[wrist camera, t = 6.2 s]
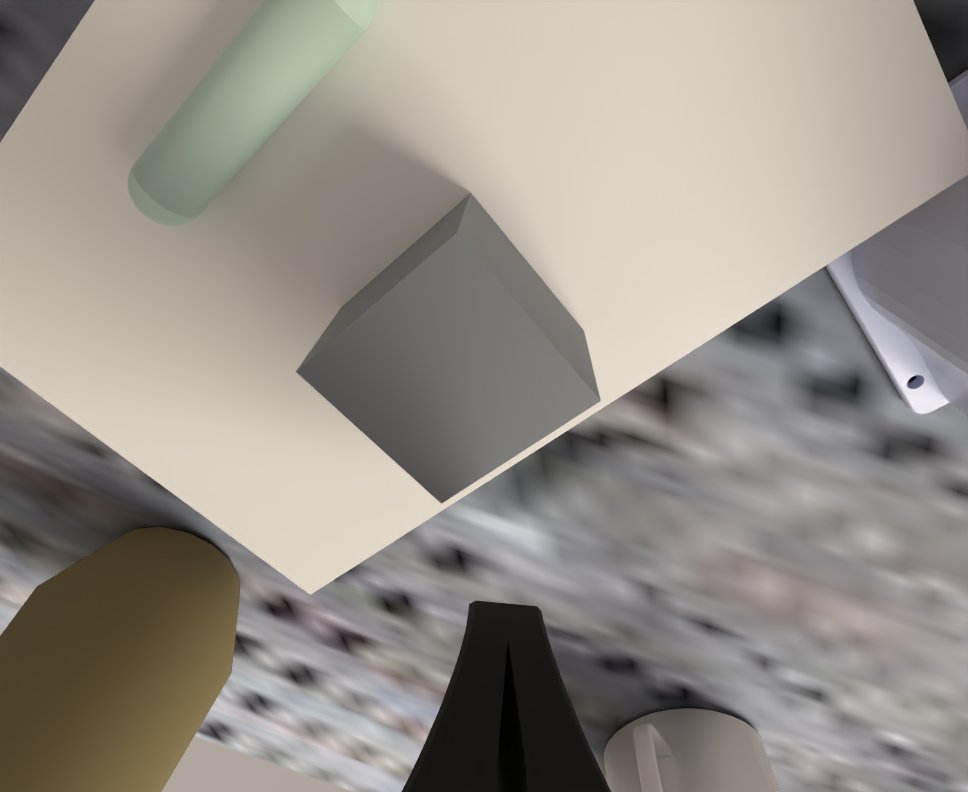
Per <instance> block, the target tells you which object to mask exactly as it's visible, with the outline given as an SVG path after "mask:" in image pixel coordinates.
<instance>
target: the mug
mask: <svg viewBox="0 0 968 792" xmlns="http://www.w3.org/2000/svg"><path fill="white" fill-rule="evenodd" d="M604 764H605V772H606V779H607V784H608V786H609V788H610V790H611V792H780V790H779V787H778V784H777V781H776V779H775V776H774V773H773V770H772V768H771V765H770V762H769V759H768V757H767V754H766V751H765V748H764V746H763V743H762V740H761V737H760V736H759V735H758V733H757V732H756V731H755V729H753V728H752V727H751V726H749V725H748V724H747V723H745V722H744V721H742V720H740V719H737V718H735V717H733V716H730V715H727V714H723V713H720V712H716V711H712V710H706V709H699V708H679V709H669V710H664V711H659V712H654V713H651V714H648V715H645V716H642V717H640V718H638V719H636V720H634V721H632V722H630V723H629V724H627V725H626V726H624V727H623V728H622V729H620V730H619V731H618V732H616V733H615V734H614V736H613V737H612V738H611V739H610V740H609V742H608V744H607V746H606V748H605V752H604Z"/></svg>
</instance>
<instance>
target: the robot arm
mask: <svg viewBox="0 0 968 792" xmlns="http://www.w3.org/2000/svg"><path fill="white" fill-rule="evenodd" d="M948 85H949V87H950V90H951V92H952V94H953V97H954V99H955V101H956V104H957V106H958V109H959V111H960V113H961V116H962V118H963V121H964V123H965V125H966V128H967V130H968V69H967V70H966V71H965V72H963V73H962V74H960V75H959V76H957V77H956V78H955V79H953V80H952V81H950V82H949V83H948ZM825 267H826V269H827V270H828V272H829V274H830V275H831V277H832V279H833V281H834V282H835V284H836V286H837V287H838V289H839V291H840V293H841V294H842V296H843V298H844V300H845V301H846V303H847V305H848V306H849V308H850V310H851V312H852V313H853V315H854V317H855V318H856V320H857V322H858V324H859V325H860V327H861V329H862V331H863V332H864V334H865V336H866V337H867V339H868V341H869V343H870V344H871V346H872V348H873V349H874V351H875V353H876V355H877V356H878V358H879V360H880V361H881V363H882V365H883V367H884V368H885V370H886V372H887V374H888V375H889V377H890V379H891V380H892V382H893V384H894V386H895V387H896V389H897V391H898V392H899V394H900V396H901V398H902V399H903V401H904V403H905V405H906V406H907V407H908V408H909V409H911V410H912V411H913V412H914V413H917V414H926V413H929V412H932V411H934V410H936V409H938V408H939V407H941V406H943V405H945V404H947V403H949V402H950V403H951V404H953V405H954V406H955V407H957V408H958V409H959V410H960V411H962V412H963V413H964V414H965V415H967V416H968V175H967V176H965V177H963V178H962V179H960V180H959V181H957V182H956V183H954V184H952V185H951V186H949V187H948V188H946V189H945V190H943V191H942V192H940V193H938V194H937V195H935V196H934V197H932V198H931V199H929V200H927V201H926V202H924V203H923V204H921V205H920V206H918V207H916V208H915V209H913V210H912V211H910V212H909V213H907V214H905V215H904V216H902V217H901V218H899V219H898V220H896V221H895V222H893V223H891V224H890V225H888V226H887V227H885V228H884V229H882V230H880V231H879V232H877V233H876V234H874V235H873V236H871V237H869V238H868V239H866V240H865V241H863V242H862V243H860V244H859V245H857V246H855V247H854V248H852V249H851V250H849V251H848V252H846V253H844V254H843V255H841V256H840V257H838V258H837V259H835V260H833V261H832V262H830V263H829V264H827V265H826V266H825ZM916 375H917V377H916V379H915V380H913V381H912V382H910V383H907V382H908V380H909V379H910V378H911V377H913V376H916ZM402 792H611V790H610V788H609V786H608V784H607V782H606V780H605V778H604V776H603V774H602V772H601V770H600V768H599V766H598V763H597V761H596V759H595V757H594V755H593V753H592V751H591V748H590V746H589V744H588V742H587V740H586V737H585V735H584V733H583V730H582V728H581V726H580V724H579V721H578V719H577V716H576V714H575V711H574V709H573V706H572V704H571V701H570V699H569V696H568V694H567V692H566V689H565V686H564V684H563V681H562V678H561V676H560V673H559V670H558V667H557V664H556V661H555V658H554V655H553V652H552V649H551V646H550V643H549V640H548V636H547V633H546V629H545V625H544V622H543V617H542V613H541V610H540V609H539V608H538V607H537V606H527V605H516V604H505V603H495V602H484V601H474V602H472V603H471V604H469V611H468V619H467V625H466V630H465V635H464V639H463V643H462V646H461V650H460V653H459V656H458V660H457V663H456V666H455V669H454V672H453V674H452V677H451V680H450V683H449V685H448V688H447V691H446V694H445V697H444V699H443V702H442V704H441V707H440V709H439V712H438V714H437V716H436V719H435V721H434V723H433V726H432V728H431V730H430V733H429V735H428V737H427V740H426V742H425V744H424V747H423V749H422V751H421V753H420V755H419V757H418V760H417V762H416V764H415V766H414V768H413V770H412V772H411V774H410V776H409V778H408V780H407V782H406V784H405V786H404V788H403V790H402Z"/></svg>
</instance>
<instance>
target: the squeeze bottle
mask: <svg viewBox="0 0 968 792" xmlns="http://www.w3.org/2000/svg"><path fill="white" fill-rule="evenodd" d="M239 596H240V579H239V577H238V575H237V573H236V571H235V569H234V567H233V565H232V563H231V562H230V561H229V560H228V559H227V558H226V557H225V556H224V555H223V554H222V553H221V552H220V551H219V550H217V549H216V548H215V547H214V546H213V545H212V544H210V543H208V542H206V541H204V540H202V539H200V538H198V537H196V536H194V535H192V534H190V533H188V532H183V531H178V530H174V529H169V528H164V527H151V528H139V529H134V530H132V531H130V532H128V533H126V534H125V535H123V536H121V537H119V538H117V539H115V540H114V541H112V542H110V543H109V544H107V545H105V546H104V547H102V548H100V549H99V550H97V551H95V552H94V553H92V554H90V555H89V556H87V557H85V558H84V559H82V560H80V561H79V562H77V563H75V564H74V565H72V566H70V567H69V568H67V569H65V570H64V571H62V572H60V573H59V574H57V575H55V576H54V577H52V578H50V579H49V580H47V581H45V582H44V583H42V584H40V585H39V586H37V587H36V588H35V590H34V591H33V593H32V594H31V595H30V597H29V598H28V599H27V601H26V602H25V603H24V605H23V606H22V607H21V609H20V610H19V611H18V613H17V614H16V616H15V617H14V618H13V620H12V621H11V622H10V624H9V625H8V626H7V628H6V629H5V630H4V632H3V633H2V634H1V636H0V792H161V791H162V790H163V788H164V786H165V785H166V783H167V781H168V779H169V778H170V776H171V774H172V773H173V771H174V769H175V768H176V766H177V764H178V762H179V761H180V759H181V757H182V756H183V754H184V752H185V751H186V749H187V747H188V745H189V744H190V742H191V741H192V739H193V737H194V735H195V734H196V732H197V730H198V729H199V727H200V725H201V724H202V722H203V720H204V719H205V717H206V715H207V713H208V712H209V710H210V708H211V707H212V705H213V703H214V702H215V700H216V698H217V697H218V695H219V693H220V691H221V690H222V688H223V686H224V685H225V683H226V681H227V680H228V678H229V676H230V674H231V671H232V662H233V653H234V643H235V634H236V625H237V615H238V606H239Z"/></svg>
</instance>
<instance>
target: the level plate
mask: <svg viewBox="0 0 968 792" xmlns="http://www.w3.org/2000/svg"><path fill="white" fill-rule="evenodd" d="M967 175H968V130H967V128H966V125H965V123H964V121H963V118H962V116H961V113H960V111H959V109H958V106H957V104H956V101H955V99H954V97H953V94H952V92H951V90H950V87H949V85H948V82H947V80H946V78H945V75H944V73H943V70H942V68H941V66H940V63H939V61H938V59H937V56H936V54H935V51H934V49H933V47H932V44H931V42H930V39H929V37H928V35H927V32H926V30H925V28H924V25H923V23H922V20H921V18H920V16H919V13H918V11H917V8H916V6H915V4H914V1H913V0H95V1H94V2H93V4H92V5H91V7H90V8H89V10H88V11H87V13H86V14H85V16H84V17H83V19H82V20H81V22H80V23H79V25H78V26H77V28H76V29H75V31H74V32H73V34H72V35H71V37H70V38H69V40H68V41H67V43H66V44H65V46H64V47H63V49H62V50H61V52H60V53H59V55H58V56H57V58H56V59H55V61H54V62H53V64H52V65H51V67H50V68H49V70H48V71H47V73H46V74H45V76H44V77H43V79H42V80H41V82H40V83H39V85H38V86H37V88H36V89H35V91H34V93H33V94H32V96H31V97H30V99H29V100H28V102H27V103H26V105H25V106H24V108H23V109H22V111H21V112H20V114H19V115H18V117H17V118H16V120H15V121H14V123H13V124H12V126H11V127H10V129H9V130H8V132H7V133H6V135H5V136H4V138H3V139H2V141H1V142H0V367H2V368H3V369H4V370H6V371H7V372H8V373H10V374H11V375H13V376H14V377H15V378H17V379H18V380H19V381H21V382H22V383H23V384H25V385H26V386H28V387H29V388H30V389H32V390H33V391H34V392H36V393H37V394H38V395H40V396H41V397H42V398H44V399H45V400H47V401H48V402H49V403H51V404H52V405H53V406H55V407H56V408H57V409H59V410H60V411H61V412H63V413H64V414H66V415H67V416H68V417H70V418H71V419H72V420H74V421H75V422H76V423H78V424H79V425H80V426H82V427H83V428H85V429H86V430H87V431H89V432H90V433H91V434H93V435H94V436H95V437H97V438H98V439H99V440H101V441H102V442H104V443H105V444H106V445H108V446H109V447H110V448H112V449H113V450H114V451H116V452H117V453H119V454H120V455H121V456H123V457H124V458H125V459H127V460H128V461H129V462H131V463H132V464H133V465H135V466H136V467H138V468H139V469H140V470H142V471H143V472H144V473H146V474H147V475H148V476H150V477H151V478H152V479H154V480H155V481H157V482H158V483H159V484H161V485H162V486H163V487H165V488H166V489H167V490H169V491H170V492H171V493H173V494H174V495H176V496H177V497H178V498H180V499H181V500H182V501H184V502H185V503H186V504H188V505H189V506H191V507H192V508H193V509H195V510H196V511H197V512H199V513H200V514H201V515H203V516H204V517H205V518H207V519H208V520H210V521H211V522H212V523H214V524H215V525H216V526H218V527H219V528H220V529H222V530H223V531H224V532H226V533H227V534H229V535H230V536H231V537H233V538H234V539H235V540H237V541H238V542H239V543H241V544H242V545H243V546H245V547H246V548H248V549H249V550H250V551H252V552H253V553H254V554H256V555H257V556H258V557H260V558H261V559H262V560H264V561H265V562H267V563H268V564H269V565H271V566H272V567H273V568H275V569H276V570H277V571H279V572H280V573H282V574H283V575H284V576H286V577H287V578H288V579H290V580H291V581H292V582H294V583H295V584H296V585H298V586H299V587H301V588H302V589H303V590H305V591H306V592H307V593H309V594H310V595H311V594H312V593H314V592H315V591H317V590H318V589H320V588H322V587H323V586H325V585H326V584H328V583H329V582H331V581H333V580H334V579H336V578H337V577H339V576H340V575H342V574H343V573H345V572H347V571H348V570H350V569H351V568H353V567H354V566H356V565H358V564H359V563H361V562H362V561H364V560H365V559H367V558H369V557H370V556H372V555H373V554H375V553H376V552H378V551H379V550H381V549H383V548H384V547H386V546H387V545H389V544H390V543H392V542H394V541H395V540H397V539H398V538H400V537H401V536H403V535H405V534H406V533H408V532H409V531H411V530H412V529H414V528H415V527H417V526H419V525H420V524H422V523H423V522H425V521H426V520H428V519H430V518H431V517H433V516H434V515H436V514H437V513H439V512H441V511H442V510H444V509H445V508H447V507H448V506H450V505H452V504H453V503H455V502H456V501H458V500H459V499H461V498H462V497H464V496H466V495H467V494H469V493H470V492H472V491H473V490H475V489H477V488H478V487H480V486H481V485H483V484H484V483H486V482H488V481H489V480H491V479H492V478H494V477H495V476H497V475H498V474H500V473H502V472H503V471H505V470H506V469H508V468H509V467H511V466H513V465H514V464H516V463H517V462H519V461H520V460H522V459H524V458H525V457H527V456H528V455H530V454H531V453H533V452H534V451H536V450H538V449H539V448H541V447H542V446H544V445H545V444H547V443H549V442H550V441H552V440H553V439H555V438H556V437H558V436H560V435H561V434H563V433H564V432H566V431H567V430H569V429H570V428H572V427H574V426H575V425H577V424H578V423H580V422H581V421H583V420H585V419H586V418H588V417H589V416H591V415H592V414H594V413H596V412H597V411H599V410H600V409H602V408H603V407H605V406H606V405H608V404H610V403H611V402H613V401H614V400H616V399H617V398H619V397H621V396H622V395H624V394H625V393H627V392H628V391H630V390H632V389H633V388H635V387H636V386H638V385H639V384H641V383H642V382H644V381H646V380H647V379H649V378H650V377H652V376H653V375H655V374H657V373H658V372H660V371H661V370H663V369H664V368H666V367H668V366H669V365H671V364H672V363H674V362H675V361H677V360H678V359H680V358H682V357H683V356H685V355H686V354H688V353H689V352H691V351H693V350H694V349H696V348H697V347H699V346H700V345H702V344H704V343H705V342H707V341H708V340H710V339H711V338H713V337H715V336H716V335H718V334H719V333H721V332H722V331H724V330H725V329H727V328H729V327H730V326H732V325H733V324H735V323H736V322H738V321H740V320H741V319H743V318H744V317H746V316H747V315H749V314H751V313H752V312H754V311H755V310H757V309H758V308H760V307H761V306H763V305H765V304H766V303H768V302H769V301H771V300H772V299H774V298H776V297H777V296H779V295H780V294H782V293H783V292H785V291H787V290H788V289H790V288H791V287H793V286H794V285H796V284H797V283H799V282H801V281H802V280H804V279H805V278H807V277H808V276H810V275H812V274H813V273H815V272H816V271H818V270H819V269H821V268H823V267H824V266H826V265H827V264H829V263H830V262H832V261H833V260H835V259H837V258H838V257H840V256H841V255H843V254H844V253H846V252H848V251H849V250H851V249H852V248H854V247H855V246H857V245H859V244H860V243H862V242H863V241H865V240H866V239H868V238H869V237H871V236H873V235H874V234H876V233H877V232H879V231H880V230H882V229H884V228H885V227H887V226H888V225H890V224H891V223H893V222H895V221H896V220H898V219H899V218H901V217H902V216H904V215H905V214H907V213H909V212H910V211H912V210H913V209H915V208H916V207H918V206H920V205H921V204H923V203H924V202H926V201H927V200H929V199H931V198H932V197H934V196H935V195H937V194H938V193H940V192H942V191H943V190H945V189H946V188H948V187H949V186H951V185H952V184H954V183H956V182H957V181H959V180H960V179H962V178H963V177H965V176H967Z"/></svg>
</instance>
